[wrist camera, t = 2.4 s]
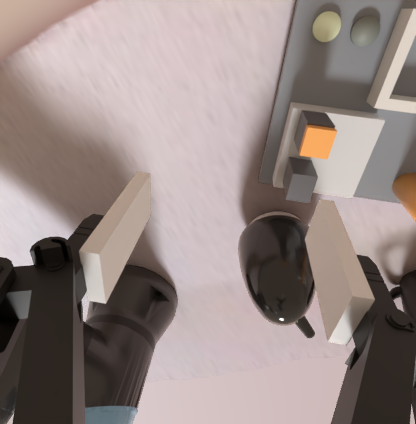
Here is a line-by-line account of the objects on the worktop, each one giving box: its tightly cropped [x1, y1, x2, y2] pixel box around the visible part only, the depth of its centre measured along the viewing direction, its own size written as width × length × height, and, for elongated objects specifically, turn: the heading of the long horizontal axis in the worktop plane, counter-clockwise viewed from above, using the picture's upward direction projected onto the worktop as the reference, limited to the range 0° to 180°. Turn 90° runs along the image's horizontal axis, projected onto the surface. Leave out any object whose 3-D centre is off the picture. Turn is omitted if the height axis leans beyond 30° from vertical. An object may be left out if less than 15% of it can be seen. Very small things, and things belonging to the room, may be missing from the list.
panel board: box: [259, 0, 416, 204], centre depth 31 cm, size 20×20×4 cm
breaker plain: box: [283, 157, 318, 203], centre depth 32 cm, size 2×3×4 cm
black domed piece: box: [238, 211, 316, 338], centre depth 37 cm, size 10×10×15 cm
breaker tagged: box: [294, 110, 337, 160], centre depth 29 cm, size 2×3×5 cm
